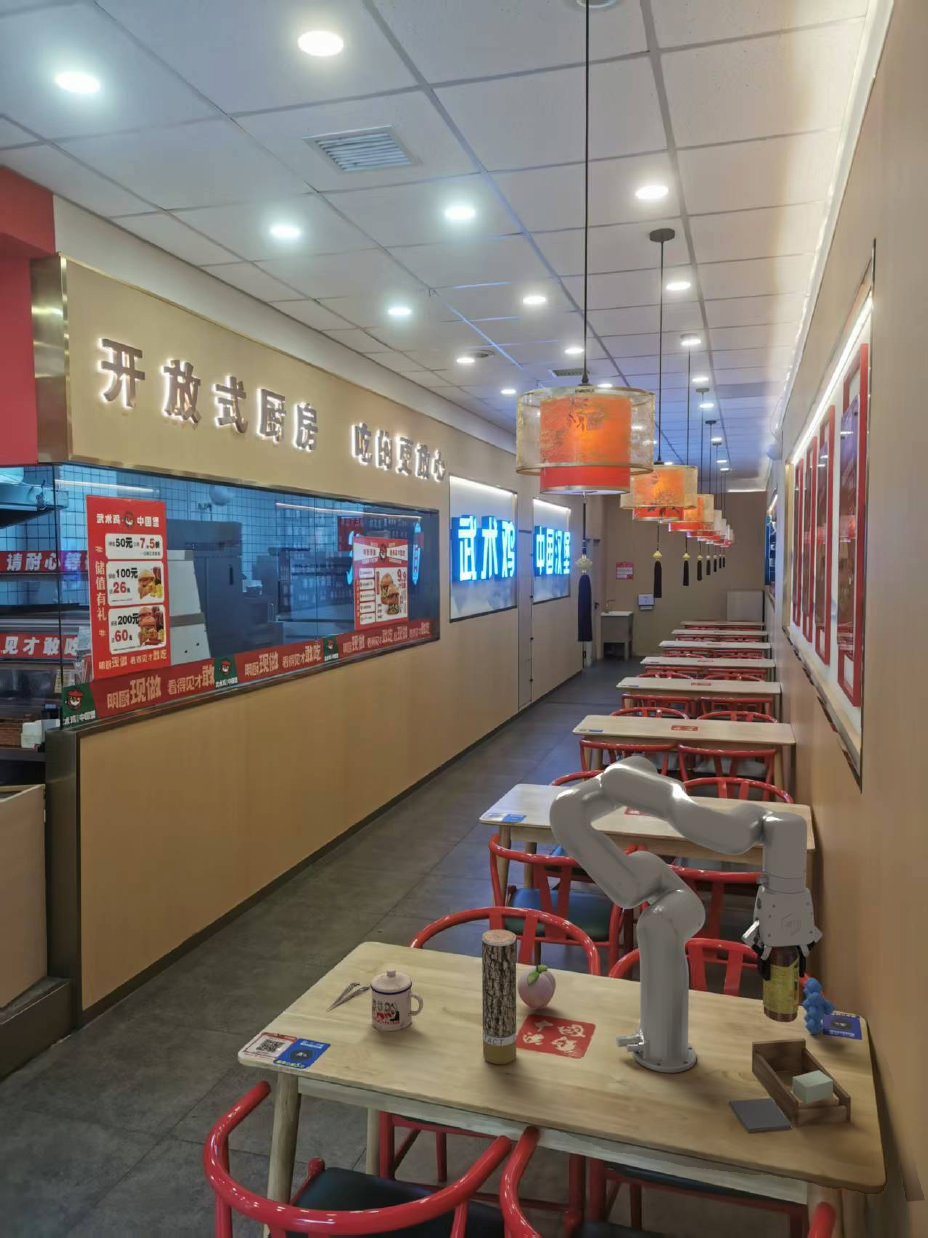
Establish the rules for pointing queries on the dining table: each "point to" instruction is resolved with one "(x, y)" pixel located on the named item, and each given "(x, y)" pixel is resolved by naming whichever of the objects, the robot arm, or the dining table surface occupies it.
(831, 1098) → the plate
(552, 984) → the decorative fruit
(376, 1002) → the teacup with lid
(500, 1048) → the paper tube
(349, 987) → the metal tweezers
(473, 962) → the dining table surface
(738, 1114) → the mat
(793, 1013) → the sauce bottle
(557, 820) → the robot arm
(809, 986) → the grapes
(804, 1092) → the offcut top
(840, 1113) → the wooden tray
